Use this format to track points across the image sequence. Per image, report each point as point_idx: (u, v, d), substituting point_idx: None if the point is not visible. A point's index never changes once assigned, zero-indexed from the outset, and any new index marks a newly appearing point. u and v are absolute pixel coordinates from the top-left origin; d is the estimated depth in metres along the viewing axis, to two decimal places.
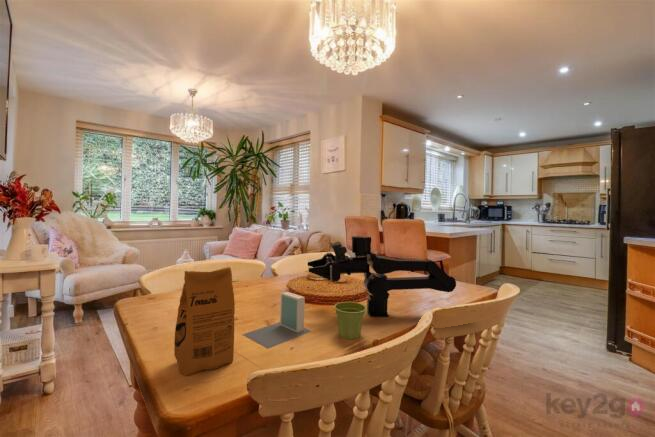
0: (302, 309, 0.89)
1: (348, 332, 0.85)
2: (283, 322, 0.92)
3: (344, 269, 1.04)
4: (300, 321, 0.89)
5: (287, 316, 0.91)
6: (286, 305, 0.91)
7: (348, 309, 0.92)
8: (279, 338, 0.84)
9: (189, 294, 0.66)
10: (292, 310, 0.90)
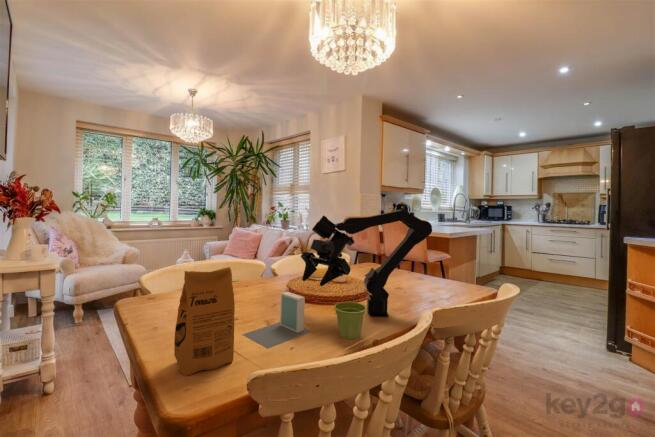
0: (302, 309, 0.89)
1: (348, 332, 0.85)
2: (283, 322, 0.92)
3: (337, 256, 1.02)
4: (300, 321, 0.89)
5: (287, 316, 0.91)
6: (286, 305, 0.91)
7: (348, 309, 0.92)
8: (279, 338, 0.84)
9: (189, 294, 0.66)
10: (292, 310, 0.90)
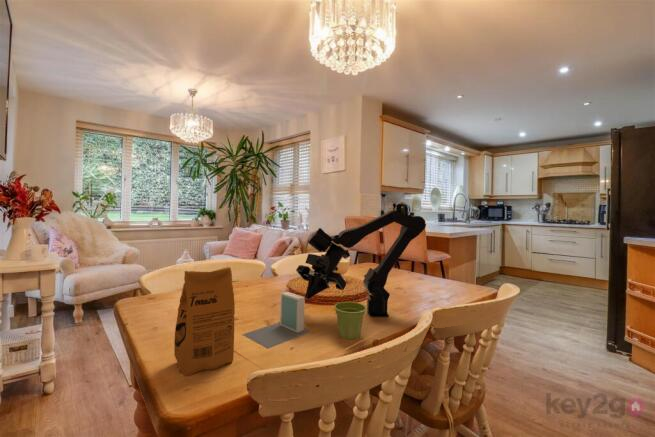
0: (302, 309, 0.89)
1: (348, 332, 0.85)
2: (283, 322, 0.92)
3: (333, 270, 1.01)
4: (300, 321, 0.89)
5: (287, 316, 0.91)
6: (286, 305, 0.91)
7: (348, 309, 0.92)
8: (279, 338, 0.84)
9: (189, 294, 0.66)
10: (292, 310, 0.90)
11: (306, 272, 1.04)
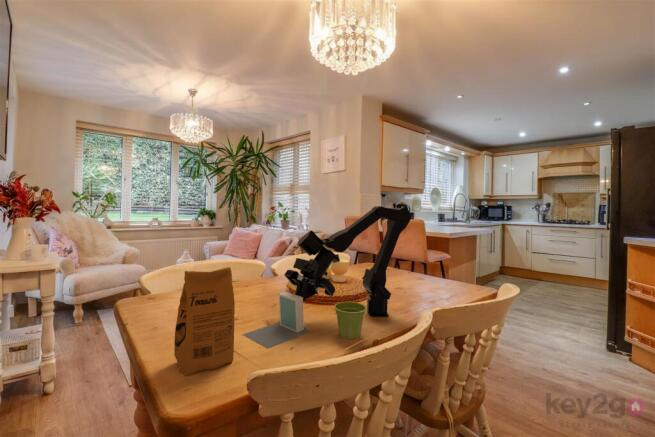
0: (301, 309, 0.89)
1: (348, 332, 0.85)
2: (283, 323, 0.92)
3: (322, 275, 0.97)
4: (300, 321, 0.89)
5: (286, 316, 0.91)
6: (284, 306, 0.91)
7: (348, 309, 0.92)
8: (279, 338, 0.84)
9: (189, 294, 0.66)
10: (291, 311, 0.89)
11: (295, 277, 1.01)
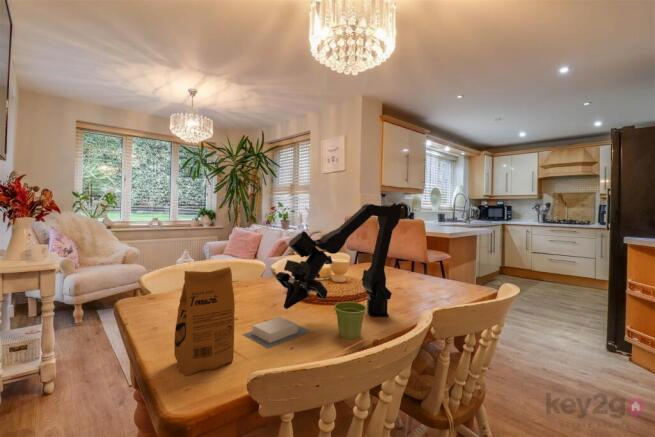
0: (280, 333, 0.83)
1: (348, 332, 0.85)
2: None
3: (314, 277, 0.94)
4: (289, 331, 0.86)
5: None
6: None
7: (348, 309, 0.92)
8: None
9: (189, 294, 0.66)
10: None
11: (286, 279, 0.98)
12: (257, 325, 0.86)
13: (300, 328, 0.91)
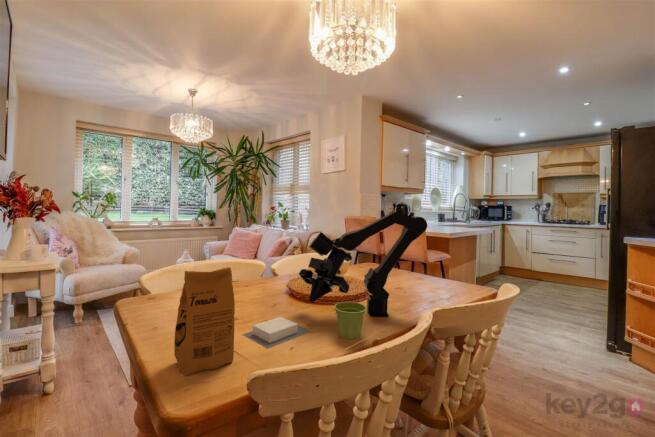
0: (280, 333, 0.83)
1: (348, 332, 0.85)
2: None
3: (335, 273, 1.02)
4: (289, 331, 0.86)
5: None
6: None
7: (348, 309, 0.92)
8: None
9: (189, 294, 0.66)
10: None
11: (309, 276, 1.05)
12: (257, 325, 0.86)
13: (300, 328, 0.91)
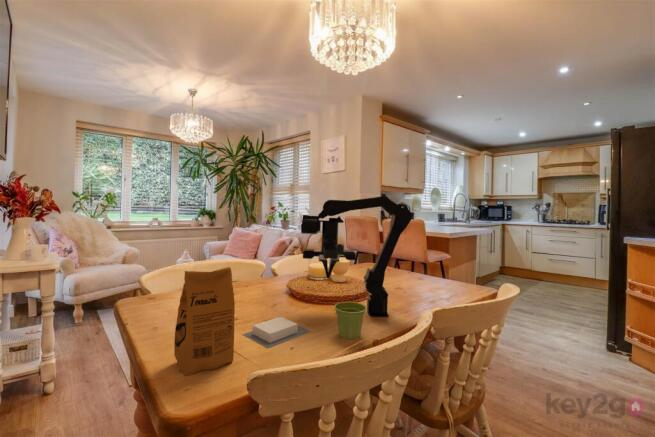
0: (280, 333, 0.83)
1: (348, 332, 0.85)
2: None
3: None
4: (289, 331, 0.86)
5: None
6: None
7: (348, 309, 0.92)
8: None
9: (189, 294, 0.66)
10: None
11: None
12: (257, 325, 0.86)
13: (300, 328, 0.91)
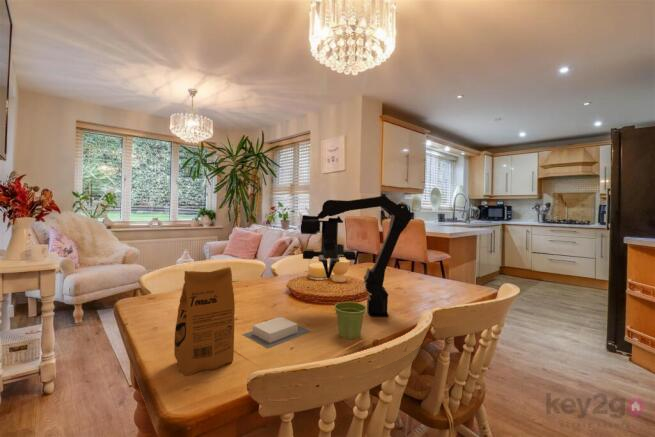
0: (280, 333, 0.83)
1: (348, 332, 0.85)
2: None
3: None
4: (289, 331, 0.86)
5: None
6: None
7: (348, 309, 0.92)
8: None
9: (189, 294, 0.66)
10: None
11: None
12: (257, 325, 0.86)
13: (300, 328, 0.91)
